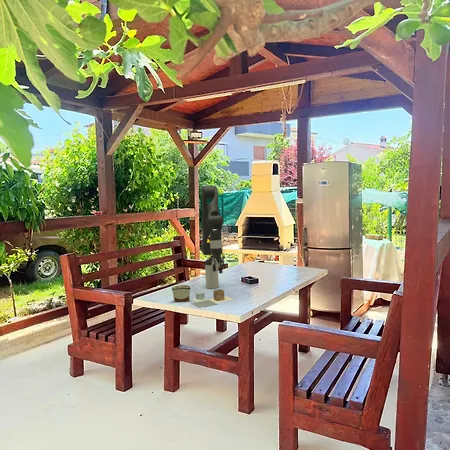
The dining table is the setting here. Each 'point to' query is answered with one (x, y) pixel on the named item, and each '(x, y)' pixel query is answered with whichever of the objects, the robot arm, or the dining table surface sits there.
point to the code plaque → (221, 300)
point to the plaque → (200, 300)
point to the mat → (204, 303)
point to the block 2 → (218, 295)
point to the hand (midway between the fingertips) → (217, 272)
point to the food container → (181, 293)
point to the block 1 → (200, 296)
